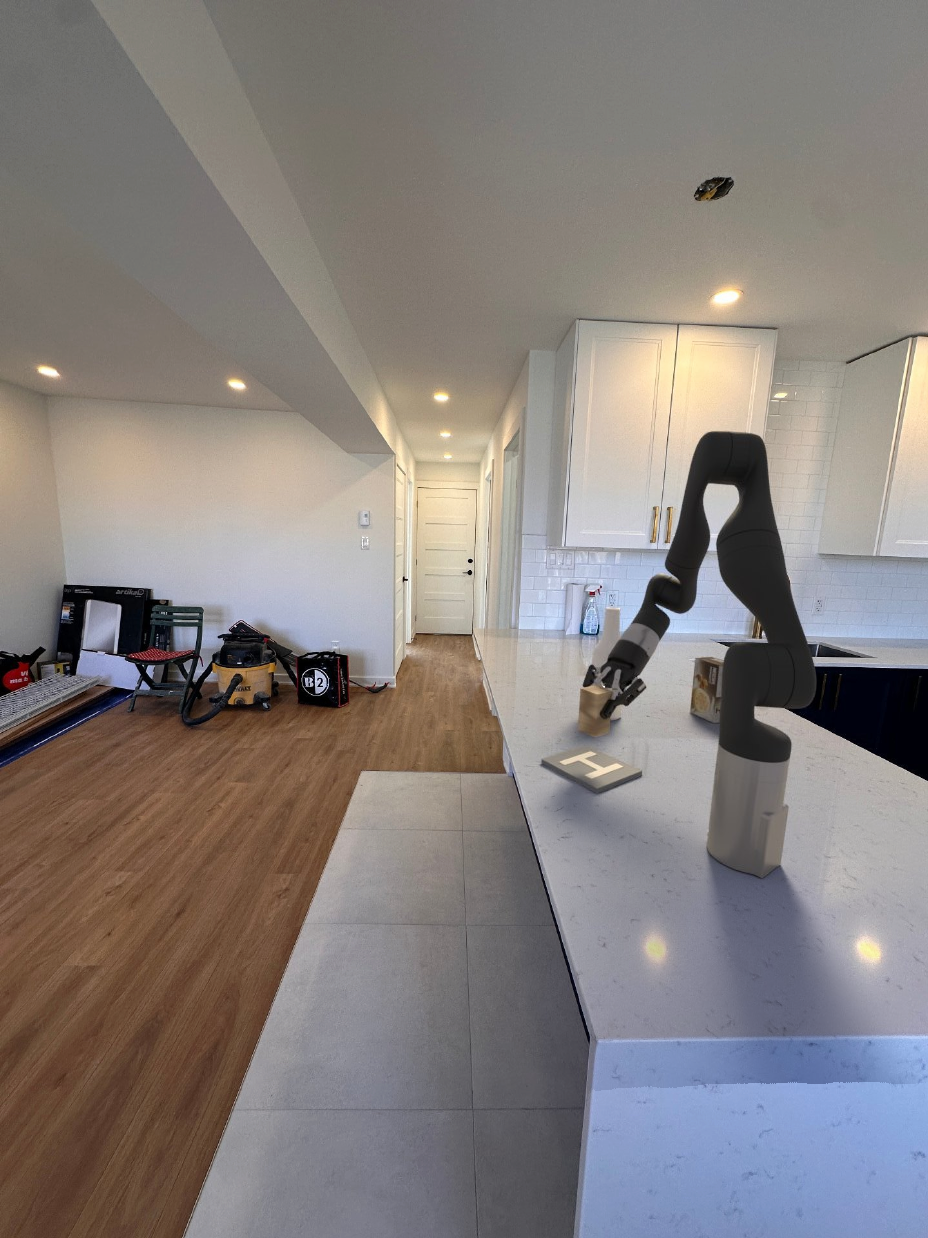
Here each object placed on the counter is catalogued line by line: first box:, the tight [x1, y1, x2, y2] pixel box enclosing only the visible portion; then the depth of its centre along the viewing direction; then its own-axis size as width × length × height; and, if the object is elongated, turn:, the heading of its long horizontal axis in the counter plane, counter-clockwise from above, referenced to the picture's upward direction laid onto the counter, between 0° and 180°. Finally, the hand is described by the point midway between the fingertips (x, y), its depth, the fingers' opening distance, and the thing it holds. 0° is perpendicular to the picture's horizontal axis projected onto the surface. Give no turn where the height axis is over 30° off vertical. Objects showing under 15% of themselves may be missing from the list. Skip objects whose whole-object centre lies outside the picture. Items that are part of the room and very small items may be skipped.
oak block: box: [577, 685, 612, 738], centre depth 101 cm, size 4×4×9 cm
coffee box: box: [689, 656, 724, 724], centre depth 136 cm, size 9×6×16 cm
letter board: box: [540, 744, 643, 794], centre depth 103 cm, size 15×14×1 cm
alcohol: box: [591, 606, 623, 721], centre depth 134 cm, size 9×9×30 cm
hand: (592, 713), depth 101 cm, fingers closed on oak block, 4 cm apart
